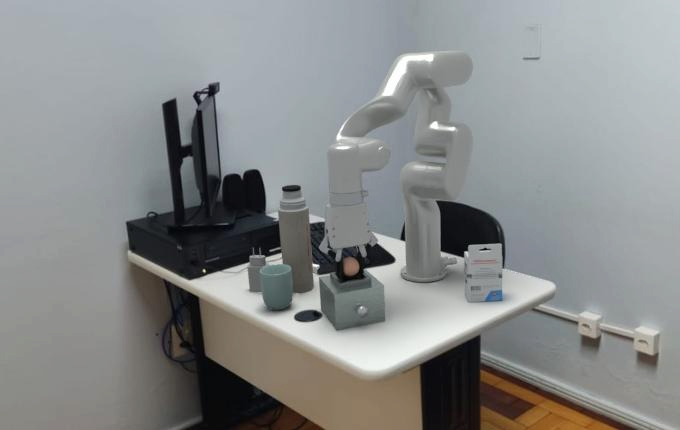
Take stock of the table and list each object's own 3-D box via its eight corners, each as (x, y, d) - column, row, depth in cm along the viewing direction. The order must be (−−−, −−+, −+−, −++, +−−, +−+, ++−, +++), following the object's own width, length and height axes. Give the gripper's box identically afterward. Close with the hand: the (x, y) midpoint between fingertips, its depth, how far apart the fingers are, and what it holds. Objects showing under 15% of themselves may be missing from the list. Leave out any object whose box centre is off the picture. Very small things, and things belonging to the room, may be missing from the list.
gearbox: (366, 302, 155) (365, 263, 152) (388, 324, 142) (387, 282, 140) (321, 310, 152) (318, 271, 149) (339, 334, 139) (336, 291, 136)
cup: (281, 315, 150) (278, 276, 148) (256, 309, 154) (253, 272, 152) (300, 303, 156) (297, 266, 154) (275, 298, 161) (272, 262, 158)
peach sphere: (356, 270, 148) (355, 253, 147) (362, 276, 144) (361, 259, 143) (338, 273, 146) (337, 256, 145) (344, 280, 142) (343, 262, 141)
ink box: (497, 293, 156) (498, 237, 152) (502, 301, 151) (503, 243, 148) (463, 294, 156) (463, 239, 152) (467, 302, 152) (467, 245, 148)
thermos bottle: (317, 282, 170) (310, 182, 162) (309, 293, 162) (302, 189, 155) (289, 281, 171) (281, 183, 164) (280, 292, 164) (272, 189, 157)
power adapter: (252, 287, 169) (248, 245, 166) (271, 288, 168) (268, 245, 165) (249, 292, 166) (244, 249, 163) (268, 292, 165) (264, 249, 162)
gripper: (374, 190, 146) (377, 263, 151) (306, 199, 141) (311, 274, 146) (387, 196, 139) (389, 273, 144) (315, 206, 134) (320, 285, 139)
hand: (350, 272), depth 145 cm, fingers closed on peach sphere, 4 cm apart
